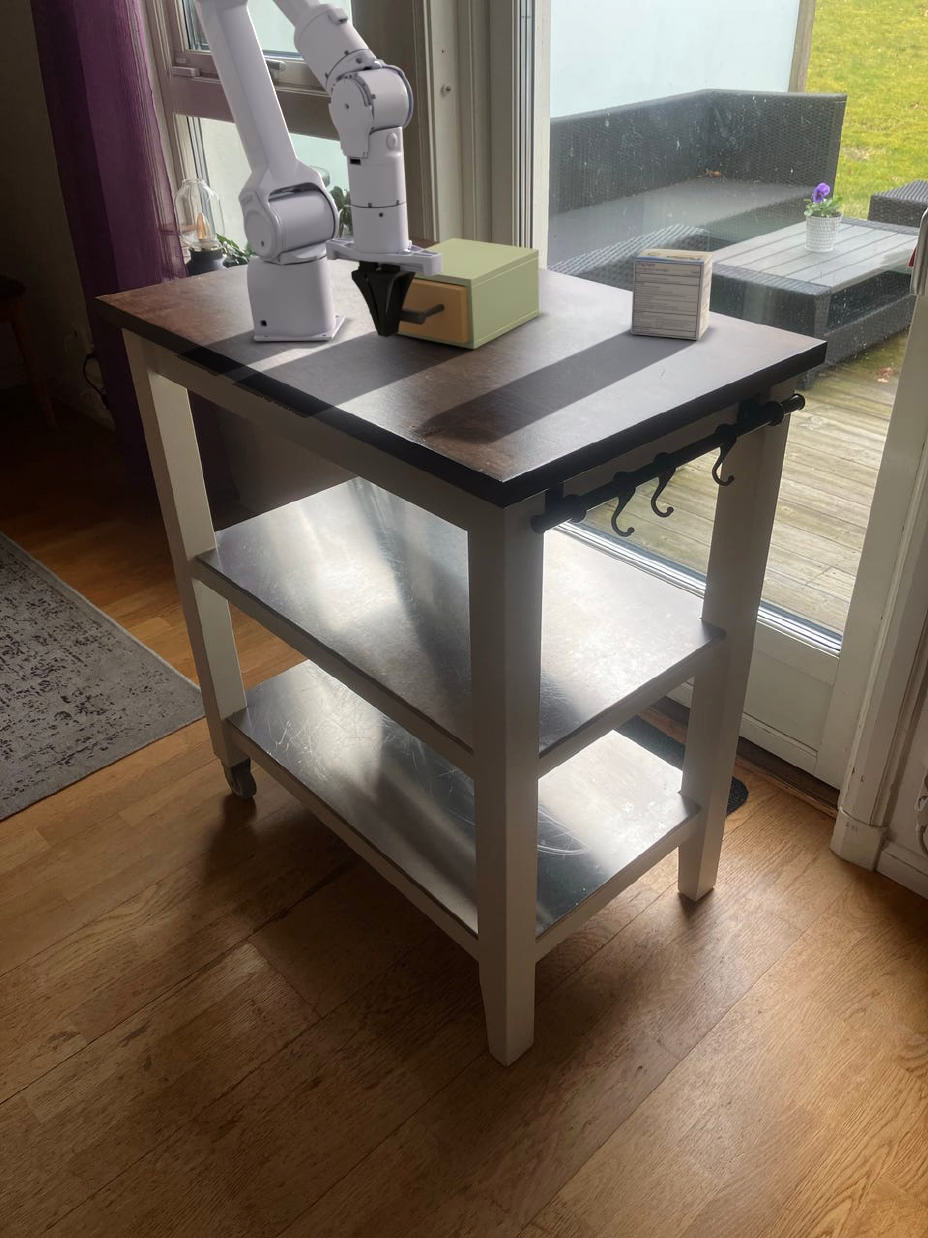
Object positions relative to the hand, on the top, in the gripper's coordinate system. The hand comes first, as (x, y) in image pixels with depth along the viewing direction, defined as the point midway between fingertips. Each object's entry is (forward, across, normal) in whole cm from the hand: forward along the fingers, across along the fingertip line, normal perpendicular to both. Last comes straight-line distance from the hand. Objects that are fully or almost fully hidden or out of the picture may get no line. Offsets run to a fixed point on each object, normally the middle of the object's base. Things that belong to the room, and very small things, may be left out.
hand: (387, 333), depth 111 cm
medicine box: (+2, -23, -23) cm, 32 cm away
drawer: (+2, 0, -10) cm, 10 cm away
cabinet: (+2, 0, -14) cm, 14 cm away
